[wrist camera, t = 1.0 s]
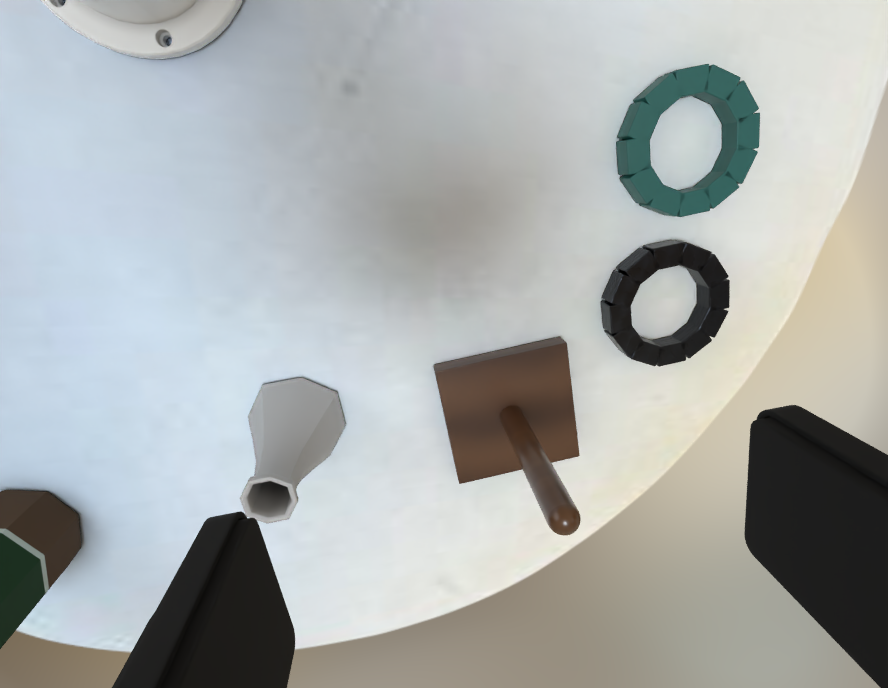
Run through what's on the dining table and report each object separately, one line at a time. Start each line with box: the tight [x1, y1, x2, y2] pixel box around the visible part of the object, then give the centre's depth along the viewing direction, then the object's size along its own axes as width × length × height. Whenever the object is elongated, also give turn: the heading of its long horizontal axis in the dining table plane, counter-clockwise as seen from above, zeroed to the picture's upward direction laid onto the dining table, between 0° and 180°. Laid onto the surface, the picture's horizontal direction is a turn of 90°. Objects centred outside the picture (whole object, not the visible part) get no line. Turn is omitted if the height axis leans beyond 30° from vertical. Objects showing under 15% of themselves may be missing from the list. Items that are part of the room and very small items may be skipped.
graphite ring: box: [601, 240, 729, 366], centre depth 37 cm, size 9×9×2 cm
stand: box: [434, 337, 580, 535], centre depth 33 cm, size 10×10×14 cm
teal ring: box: [616, 64, 760, 217], centre depth 33 cm, size 9×9×2 cm
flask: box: [240, 378, 346, 523], centre depth 33 cm, size 7×7×10 cm
